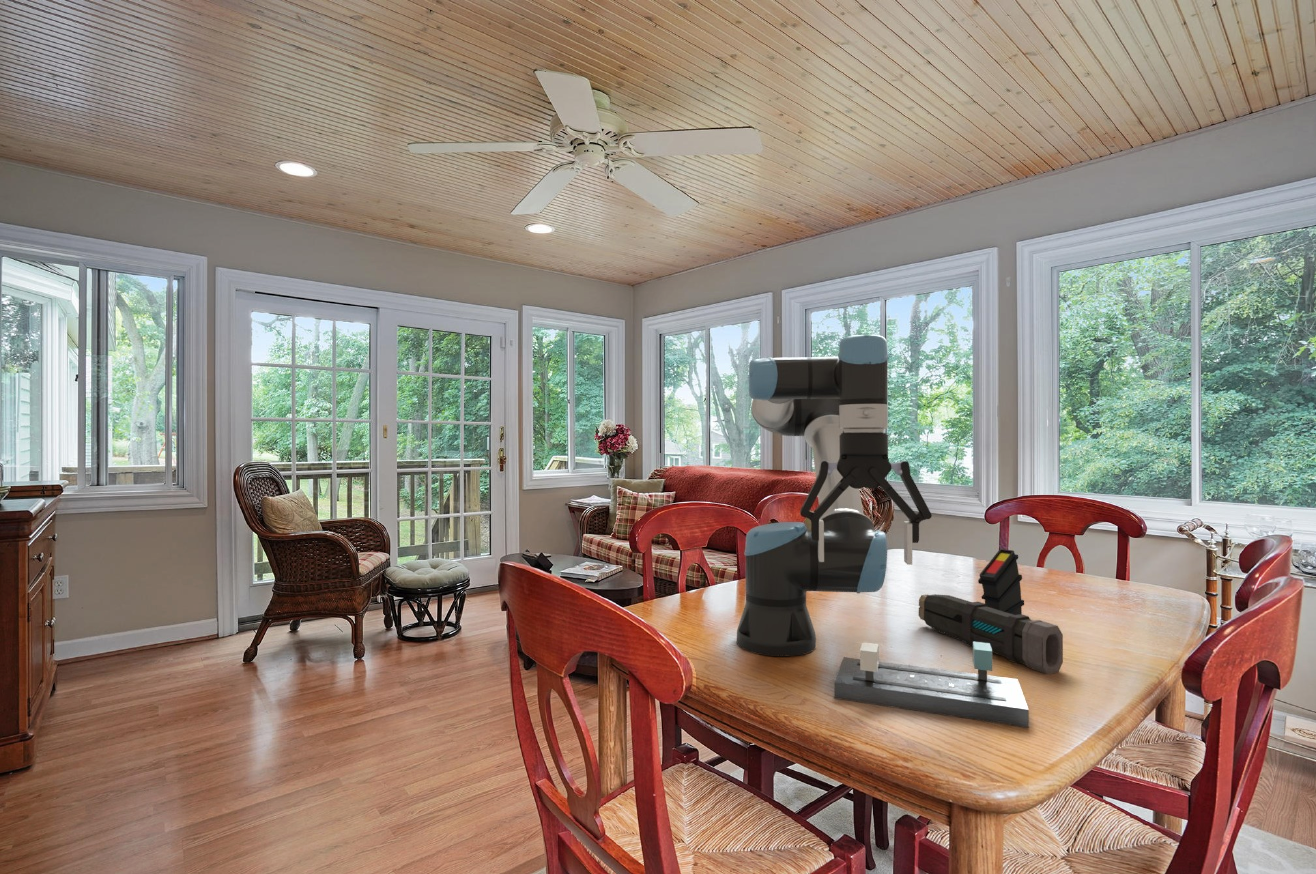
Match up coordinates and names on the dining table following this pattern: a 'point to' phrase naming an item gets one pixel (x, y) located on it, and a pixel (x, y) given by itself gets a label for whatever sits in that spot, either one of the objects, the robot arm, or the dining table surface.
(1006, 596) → the magazine
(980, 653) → the fader far
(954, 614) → the tube
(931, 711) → the console
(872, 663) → the fader near
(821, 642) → the dining table surface
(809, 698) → the dining table surface
